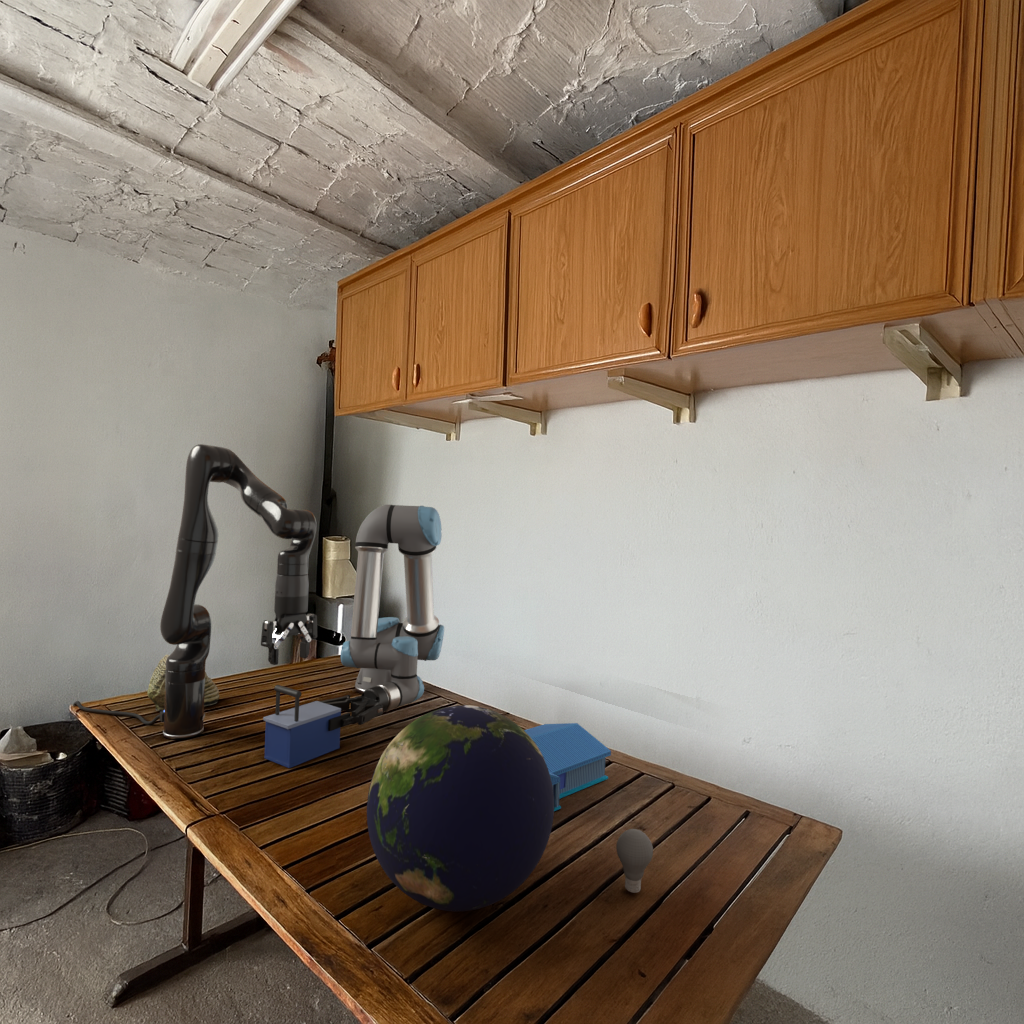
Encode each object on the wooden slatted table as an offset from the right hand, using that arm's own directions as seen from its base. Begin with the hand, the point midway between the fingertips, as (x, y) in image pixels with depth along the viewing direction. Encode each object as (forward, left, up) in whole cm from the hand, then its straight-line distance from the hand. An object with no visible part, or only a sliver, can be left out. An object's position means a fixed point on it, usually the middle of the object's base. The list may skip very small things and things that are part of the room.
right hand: (315, 720), depth 159 cm
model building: (+10, +53, -7) cm, 55 cm away
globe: (+50, +48, -7) cm, 70 cm away
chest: (+3, -2, -7) cm, 8 cm away
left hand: (+8, -4, +17) cm, 19 cm away
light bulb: (+44, +76, -7) cm, 88 cm away
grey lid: (+4, -2, +2) cm, 5 cm away
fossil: (-20, -50, -7) cm, 54 cm away
